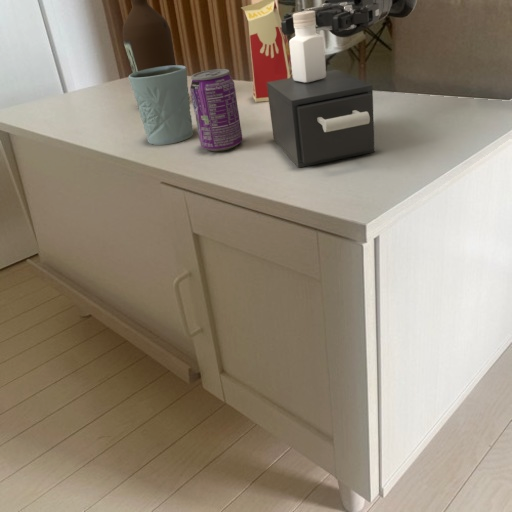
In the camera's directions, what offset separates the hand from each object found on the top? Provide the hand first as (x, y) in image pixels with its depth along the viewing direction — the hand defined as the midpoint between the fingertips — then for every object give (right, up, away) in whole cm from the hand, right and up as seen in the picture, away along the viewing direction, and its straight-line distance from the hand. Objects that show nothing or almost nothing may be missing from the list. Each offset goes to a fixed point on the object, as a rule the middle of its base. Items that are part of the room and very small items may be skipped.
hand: (309, 26), depth 79 cm
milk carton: (-4, +1, +39) cm, 39 cm away
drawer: (+3, -18, +1) cm, 18 cm away
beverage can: (-13, -15, +12) cm, 24 cm away
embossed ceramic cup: (-24, -12, +21) cm, 34 cm away
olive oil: (-30, +2, +47) cm, 56 cm away
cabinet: (+2, -17, +5) cm, 18 cm away
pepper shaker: (0, -7, +3) cm, 8 cm away
